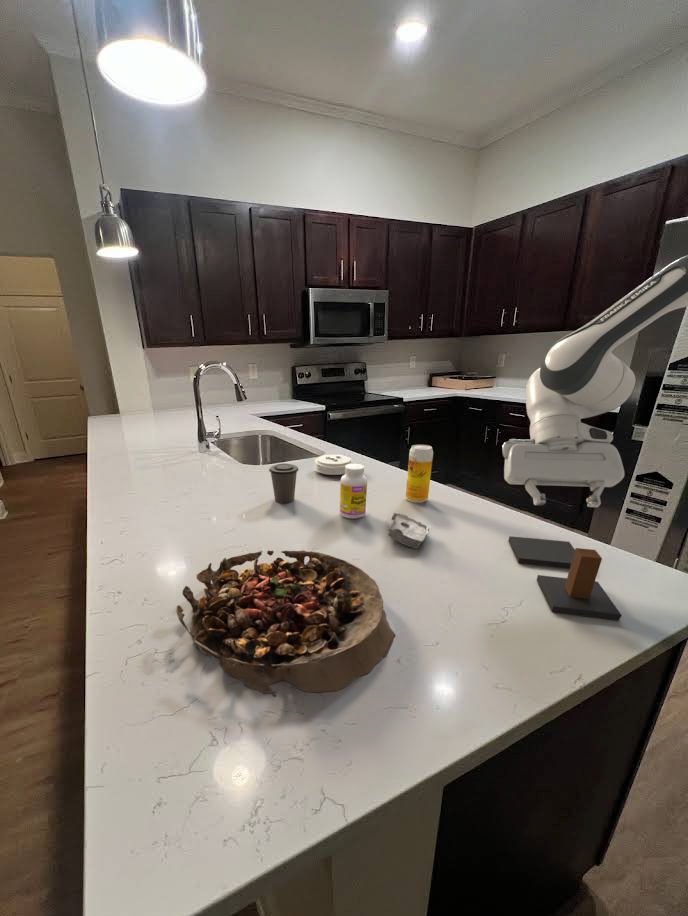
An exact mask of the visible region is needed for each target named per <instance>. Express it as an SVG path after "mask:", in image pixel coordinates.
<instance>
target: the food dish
mask: <svg viewBox="0 0 688 916" xmlns="http://www.w3.org/2000/svg"><path fill="white" fill-rule="evenodd" d="M263 552H264V550H262V551H261V550H260V551H257V552H249V553H245V554H241V555H236V556H231V557H229V558H226V557H224V558H223V559H222V560H221V561H219V567H218V569H216V570H213V569H212V563H211V562H210V563H208V566H207V568H204V569H203V570H201V571H200V572H199V573H197V574H196V579H197V581H198V582H199V583H202V584H204V586H205V587H204V589H203V590H204V595H205V596H202V597H200V598H199V599H198V600H197V599H196V598H195V596H194V592H193V591H192V590H191V587H189V586H188V585H185V586H184V588H183V589H182V596H183V597H184V598H185V600H186V601H187V602H188V603H189V604H190V606H191V609H192V613H193V614H192V616H191V625H190V627H189V628H188V627H187V625H186V623H185V621H184V617H185V613H183V612H184V609H183V608H182V606H181V605H179V604H178V605H176V610H175V611H176V616H177V618H178V621H179V623H180V624H181V625H182V627H183V628H185V630H186V631H187V632H188V634H189V636H190V637H191V639H192V640H193V646H194V647H195V648H197V649H198V650H199V652H200V653H202V654H205V656H207V655H208V656H213V657H214V658H217V659H219V664H220V666H221V667H223V671H224V672H225V673H226V674H227V675H230V676H231V677H233V678H236V679H238V680H241V681H242V684H243V685H244V686H245V687H247V688H250V689H252V690H255V691H259V692H261V694H265V695H266V694H271V695H272V696H273V697H276V696H277V695H276V694H275V693H276V691H273V690H272V688H271V687H270V685H275V684H277V683H278V682H280V681H283V682H288V683H290V684H293V685H294V687H295V689H298V690H301V691H303V692H305V693H315V694H316V693H324V692H325V693H326V692H333V691H334V692H338V691H339V690H342V689H345V688H346V687H347V686H348V685H350V684H351V683H352V682H353V681H354V680H355V679H356V678H359V677H362V676H364V675H368V674H370V673H371V671H372V670H373V669H374V667H375V666H376V665H377V664H379V663H380V662H381V661H382V659H383V658H385V657H386V656H387V654H388V653H389V652H390V651H389V650H390V649H391V647H392V644H393V642H394V639H395V637H396V636H397V634H396V633H395V632H394V630H393V629H392V627H391V625H390V622H388V618H387V613H386V611H385V610H384V599H383V596H382V594H381V592H380V588H379V585H378V584H377V582H376V580H375V579H374V578H372V577H370V575H369V574H368V573H366V572H365V571H364V570H363V569H362V568H360V567H359V566H357V565H355V564H353V563H350V562H348V561H347V560H344V559H341V558H338V557H335V556H332V555H330V554H325V553H323V552H322V553H321V552H317V551H308V550H307V551H306V550H282V551H280V553H282V554H284V556H285V557H288V558H290V559H295V561H292V562H289V561H287V560H284V559H283V558H281V557H277V558H276V559H274V560H273V561H272V562H271V563H270V564H269V563H265V562H264V563H259V564H258V562H259V558H260V557H261V556H262V555H263ZM266 553H267V555H268V556H272V555H273V554H274V553H275V551H274V550H267V551H266ZM306 557H308V558H309V560H308V561H307V563H306V564H305V559H306ZM253 561H254V562H253ZM247 562H253V568H252V569H251V568H245V569H242V570H241V573H239V572H238V571H237V570H236V569H232V568H233V567H237V566H242V565H244V564H245V563H247ZM189 630H190V631H189Z"/></svg>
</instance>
